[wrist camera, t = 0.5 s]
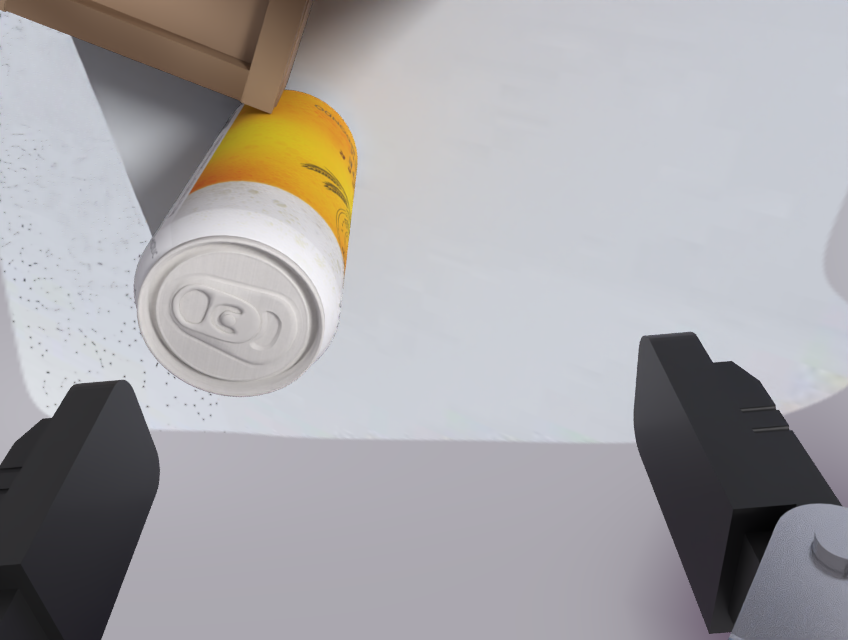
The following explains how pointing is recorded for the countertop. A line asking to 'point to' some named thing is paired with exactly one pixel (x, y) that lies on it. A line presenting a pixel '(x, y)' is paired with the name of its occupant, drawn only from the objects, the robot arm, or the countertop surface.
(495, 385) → the countertop surface
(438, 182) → the countertop surface
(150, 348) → the beer can
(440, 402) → the countertop surface
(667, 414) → the robot arm
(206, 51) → the square wooden tray
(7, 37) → the countertop surface
